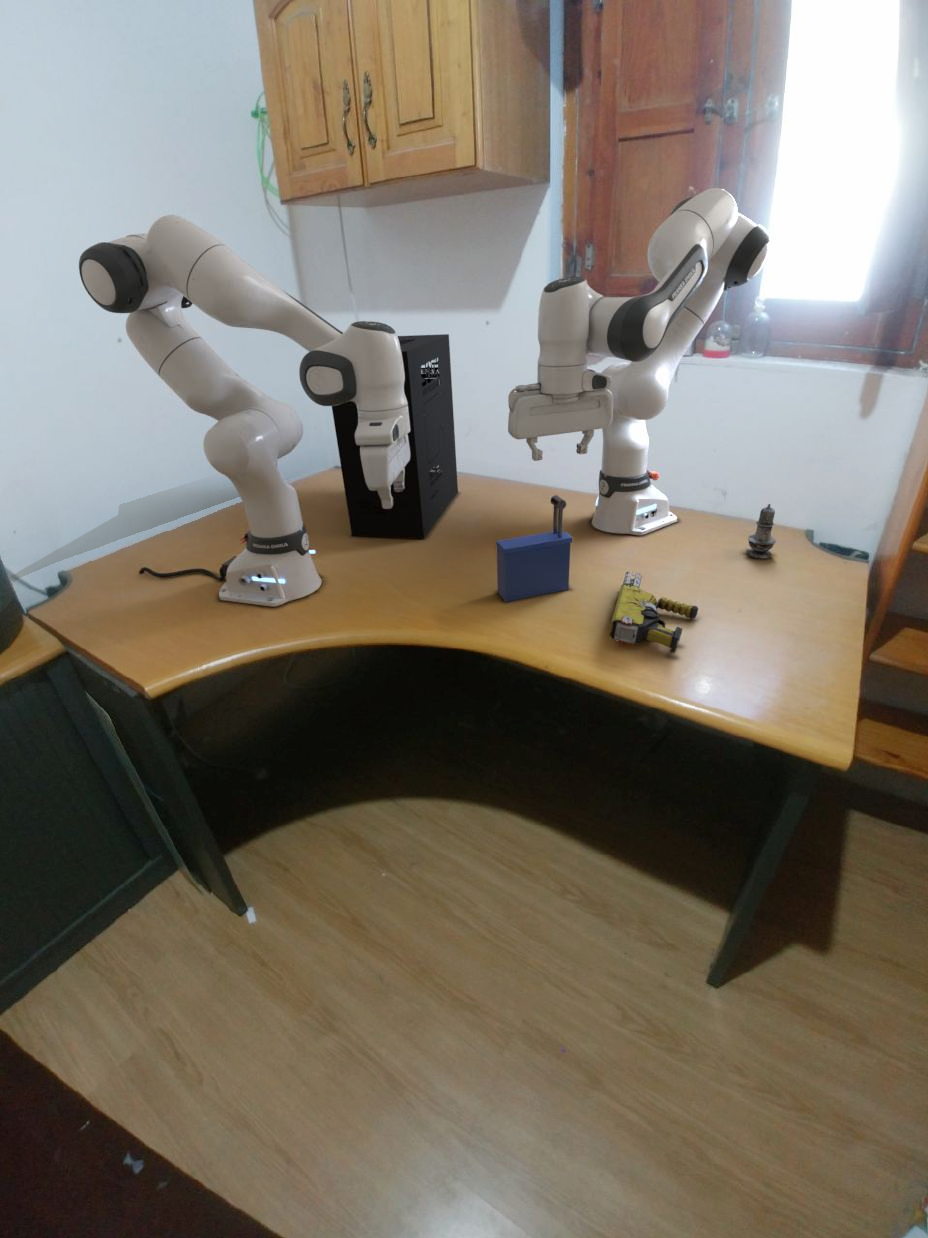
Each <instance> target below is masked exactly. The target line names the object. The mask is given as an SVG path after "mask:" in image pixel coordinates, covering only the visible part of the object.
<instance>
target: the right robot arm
mask: <svg viewBox="0 0 928 1238" xmlns="http://www.w3.org/2000/svg"><path fill="white" fill-rule="evenodd" d="M772 246H773V236H772V234H771V233H770V232H769V231H768V230H767V229H766V228H765V227H764V226H763V225H761V224H756V223H755V222H753V221H752V220H751V219H749V218H747V217H746V216H745V215H743V214H741V213H739V212H738V206H737V203H736V201H735V198H734V197H733V196H732V194H731V193H730V192H729V191H727V190H725V189H723V188H720V187H713V188H708V189H706V190H703V191H701V192H700V193H698V194H696V195H695V196H689V197H687V198H685V199H683V200H681V201H679V203H677V204H676V205H675V207H674V208H673V210H672V211H671V212H670V214H669V216H668V218H666V219H665V220H664V221H663V222H662V223H661V224H660V225H659V226H658V228H656V230H655V231H654V233H653V234H652V235H651V237H650V239H649V241H648V244H647V254H646V255H647V256H646V257H647V263H648V268H649V269H650V272H651V274H652V275H653V277H654V278H655V280H657V282H658V284H656V286H655V287H654V289H653V290H652V291H651V292H648V293H646V294H642V295H637V296H604V295H603V294H602V293H601V294H600V293H598V292H597V291H595V290H594V289H593V288H592V287H590V285H589V284H588V280H587V279H586V278H585V277H583V276H569V277H564V278H559V279H555V280H553V281H551V282H549V283H548V284H546V285H545V286H544V288H542V292H541V295H540V301H539V306H538V307H539V308H538V318H537V340H538V344H539V355H538V357H537V374H536V375H537V382H536V383H535V382H534V383H529V384H518V385H516V386H515V388H513V389H511V390H510V392H509V394H508V396H507V397H508V400H507V401H508V404H507V405H508V409H509V412H508V420H507V432H508V434H509V435H510V436H511V437H512V438H514V439H515V440H518V441H519V440H525V442H526V444H527V445H528V447H529V449H530V450H531V460H533V461H534V462H536V461H537V462H538V461H542V460H543V450H541V449H539V448H538V447H537V445H536V444H537V443H538V438H540V437H548V436H556V435H564V434H571V433H577V432H581V434H583V437H582V438H581V440H580V442H579V443H576V454H578V455H586V454H588V448H589V444H590V443H591V441H592V439H593V438H594V436H595V430H601V431H602V432H601V433H602V453H601V468H600V470H599V474H598V492H599V493H598V495H597V498H596V501H595V506H596V507H595V511H594V514H593V517H592V520H591V525H592V526H593V527H594V528H595V529H597V530H599V531H601V532H605V533H611V534H623V535H625V534H626V535H632V536H633V535H634V536H645V535H646V534H650V533H652V532H654V531H657V530H660V529H662V528H665V527H668V526H670V525H672V524H675V523H677V522H678V516H677V515H676V514H675V513H674V512H672V511H670V503H669V502H670V501H669V498H668V497H667V496H666V495H665V494H664V493H663V492H661V491H660V490H659V489H658V488H656V487H655V486H654V485H652V483H651V480H653V481H658V479H659V478H660V473H659V472H657V471H654V470H651V471H649V470H648V469H647V466H648V458H649V457H648V456H649V446H650V438H649V434H648V431H647V430H648V429H647V426H646V421H648V420H652V419H654V418H656V417H658V416H659V415H660V414H661V413H662V412H663V411H664V409H665V408H666V406H667V403H668V400H669V389H670V385H671V383H672V380H673V378H674V375H675V373H676V371H677V369H678V366H679V364H680V362H681V360H682V359H683V357H684V355H685V353H686V352H687V351H688V349H689V348H690V346H691V345H692V343H693V342H694V340H695V338H696V337H697V336H698V335H699V333H700V332H701V330H702V329H703V327H704V325H705V324H706V322H707V321H708V319H710V317H711V315H712V313H713V311H714V310H715V308H716V306H717V304H718V303H719V300H720V298H721V297H722V295H723V293H724V291H725V292H728V291H730V290H732V288H734V287H740V286H743V285H745V284H746V283H748V282H750V281H751V280H753V278H755V276H756V275H757V274H758V273H759V272H760V271H761V270H762V268H763V267H764V266H765V264H766V262H767V260H768V258H769V256H770V252H771V249H772ZM588 355H589V356H598V357H605V358H615V359H619V360H624V361H629V362H617V363H614V364H611V365H608V366H607V367H605V368H604V369H603V370H602V371H601V372H597V371H596V370H594V369H589V368H588Z"/></svg>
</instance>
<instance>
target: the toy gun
mask: <svg viewBox="0 0 928 1238" xmlns="http://www.w3.org/2000/svg"><path fill="white" fill-rule="evenodd" d="M632 577H634V578H632ZM642 578H643V576H642V574H641V573H640V572H636V573H635V574H633V571H630V570H629V571H626V572H625V576H624V579H623V583H622V584H621V586H620V589H619V592H618V597H617V599H616V603H615V608H614V611H613V615H612V617H611V621H610V625H609V626H610V627H609V632H608V637H609V638H610V640H614V641H617V644H619V645H621V644H623V646H624V645H625V646H627V645H628V644H631V645H638V644H642V643H644V642H646V641H650V642H653V643H656V644H660V645H663V646H665V647H667V648H669V649H670V653H673V654H675V652H676V651H677V648H678V646H679V644H680V640H681V637H682V633H683V628H682V627H680V626H675V630H672V629H670V628H667V627H666V622H665V621H664V620H662V619H660V617H661V615H660V613H659V612H658V609H659V610H662V611H663V610H665V611H666V612H672V613H673V614H678V615H680V616H685V617H686V618H689V619H691V620H693V619H696V617H697V615H698V612H699V607H698V606H696V605H692V604H687V603H685V602H680V601H678V600H676V601H674V600H673V599H667V597H660V598H659V599H658V600H657V598H656V596H655V595H654V594H653V593H651V592H647V591H644V590H642V589H640V586H641V581H642Z"/></svg>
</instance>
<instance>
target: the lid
mask: <svg viewBox="0 0 928 1238" xmlns="http://www.w3.org/2000/svg"><path fill="white" fill-rule="evenodd" d="M550 504H551V505H552V506H553V515H552V517H553V519H552V520H553V522H552V531H548V532H543V533H536V534H530V535H524V536H517V537H512V538H507V539H501V540H496V543H495V544H496V545H495V546H496V548H497V547H498V548H499V549H500V550H501V551H502V552H503V553H504V555H506V554H512V553H517V552H523V551H528V550H534V549H540V548H545V547H551V546H556V545H562V544H568V543H570V544H572V543H573V536H571V535H570V534H569V533H567V532H566V531H565V530H564V529H563V518H564V517H563V515H564V512H563V511H564V509H566V507H567V502H566V500H565V499H563V498H561V497H560V496H559V495H556V494H555V495H553V496H551V498H550Z"/></svg>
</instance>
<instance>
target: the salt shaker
mask: <svg viewBox="0 0 928 1238" xmlns="http://www.w3.org/2000/svg"><path fill="white" fill-rule="evenodd" d="M771 506H772V505H771V504H770V503H768V504H767V506H766V507H762V508H761V510H760V513H759V518H758V521H756V531H755V533H754V534H750V535H749V536H747V540H748V545H749V547H750V548H749V549H747V550H746V554H747V556H749V557H752V558H755V559H768V558H771V557H772V556H773V555H772V552H771V551H770V550H772V548H773V547H774V545H775V544H776V543H777V539H776V538H775V537H773V536H772V529H773V527H774V526H775V523H774V519H775V514H776V511H775V509H774V508H772V507H771Z"/></svg>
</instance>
